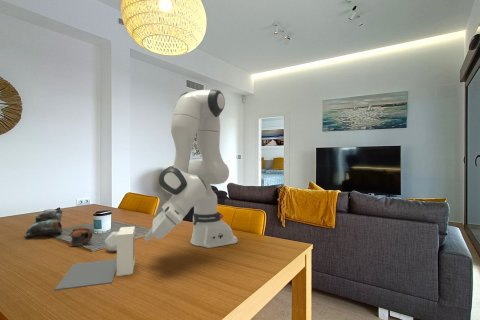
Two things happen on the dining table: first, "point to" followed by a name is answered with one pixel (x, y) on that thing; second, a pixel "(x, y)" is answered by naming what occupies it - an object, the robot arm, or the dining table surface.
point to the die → (112, 241)
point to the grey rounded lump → (46, 223)
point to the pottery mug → (80, 236)
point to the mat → (89, 274)
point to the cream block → (125, 251)
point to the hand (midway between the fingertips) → (145, 239)
